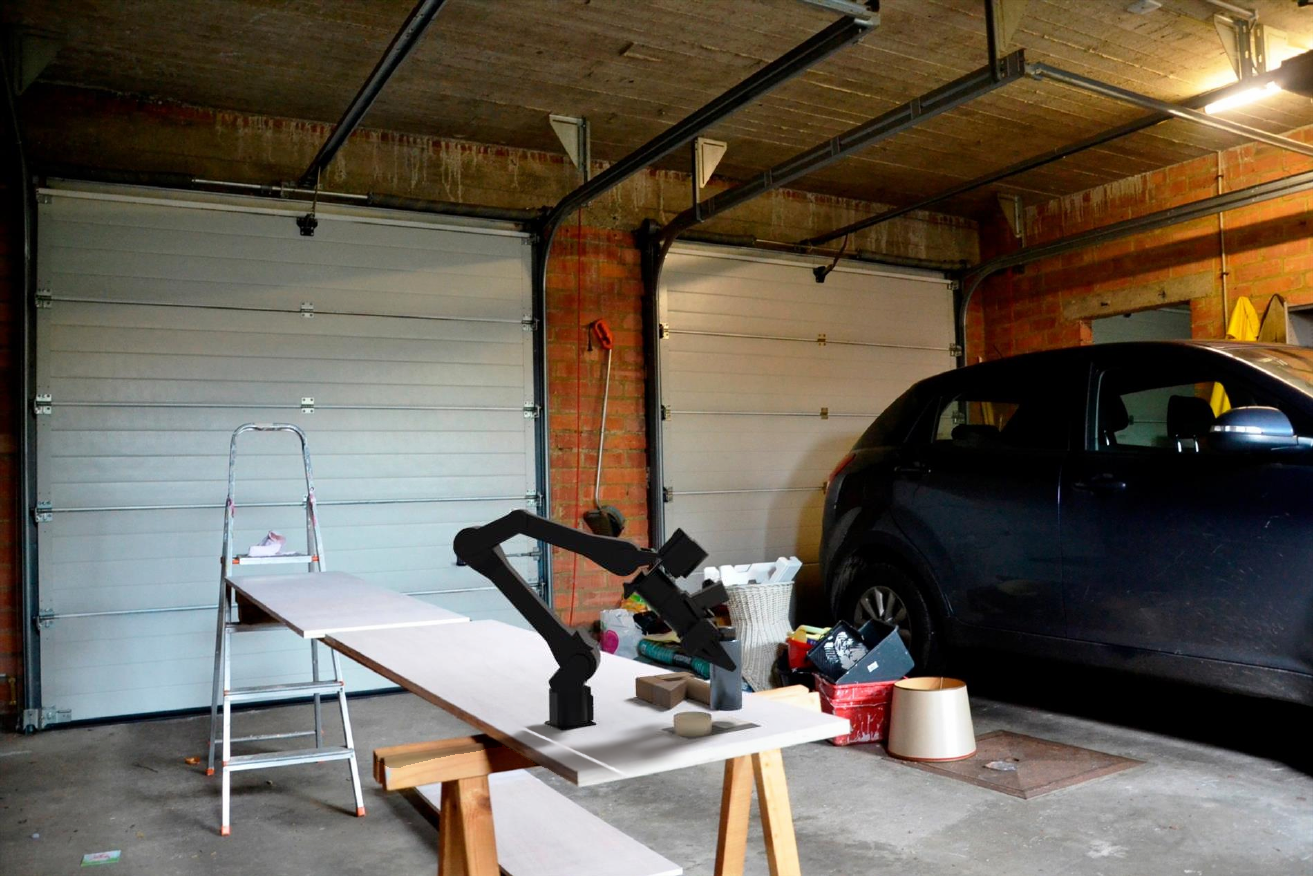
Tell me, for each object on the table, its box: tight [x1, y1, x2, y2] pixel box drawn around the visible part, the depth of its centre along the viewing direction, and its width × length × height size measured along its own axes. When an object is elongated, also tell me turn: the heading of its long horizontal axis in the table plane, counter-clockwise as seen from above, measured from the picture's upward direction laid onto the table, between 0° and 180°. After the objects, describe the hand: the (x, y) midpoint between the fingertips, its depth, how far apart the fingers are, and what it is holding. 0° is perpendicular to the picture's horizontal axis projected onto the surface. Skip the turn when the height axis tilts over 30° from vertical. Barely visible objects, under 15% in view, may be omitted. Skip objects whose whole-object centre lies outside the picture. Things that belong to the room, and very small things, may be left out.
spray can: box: [709, 625, 743, 712], centre depth 165 cm, size 5×5×13 cm
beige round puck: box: [673, 711, 713, 737], centre depth 159 cm, size 6×6×2 cm
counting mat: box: [661, 716, 761, 740], centre depth 161 cm, size 14×8×1 cm, turn 123°
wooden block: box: [635, 671, 710, 710], centre depth 182 cm, size 4×11×18 cm
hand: (734, 666), depth 164 cm, fingers closed on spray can, 5 cm apart
